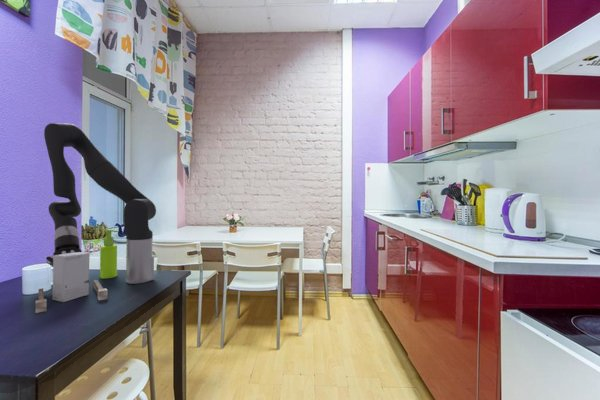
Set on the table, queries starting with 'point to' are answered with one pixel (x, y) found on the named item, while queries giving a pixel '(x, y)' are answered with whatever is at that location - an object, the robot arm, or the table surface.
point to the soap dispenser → (108, 256)
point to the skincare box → (70, 276)
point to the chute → (42, 303)
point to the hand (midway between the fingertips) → (69, 277)
